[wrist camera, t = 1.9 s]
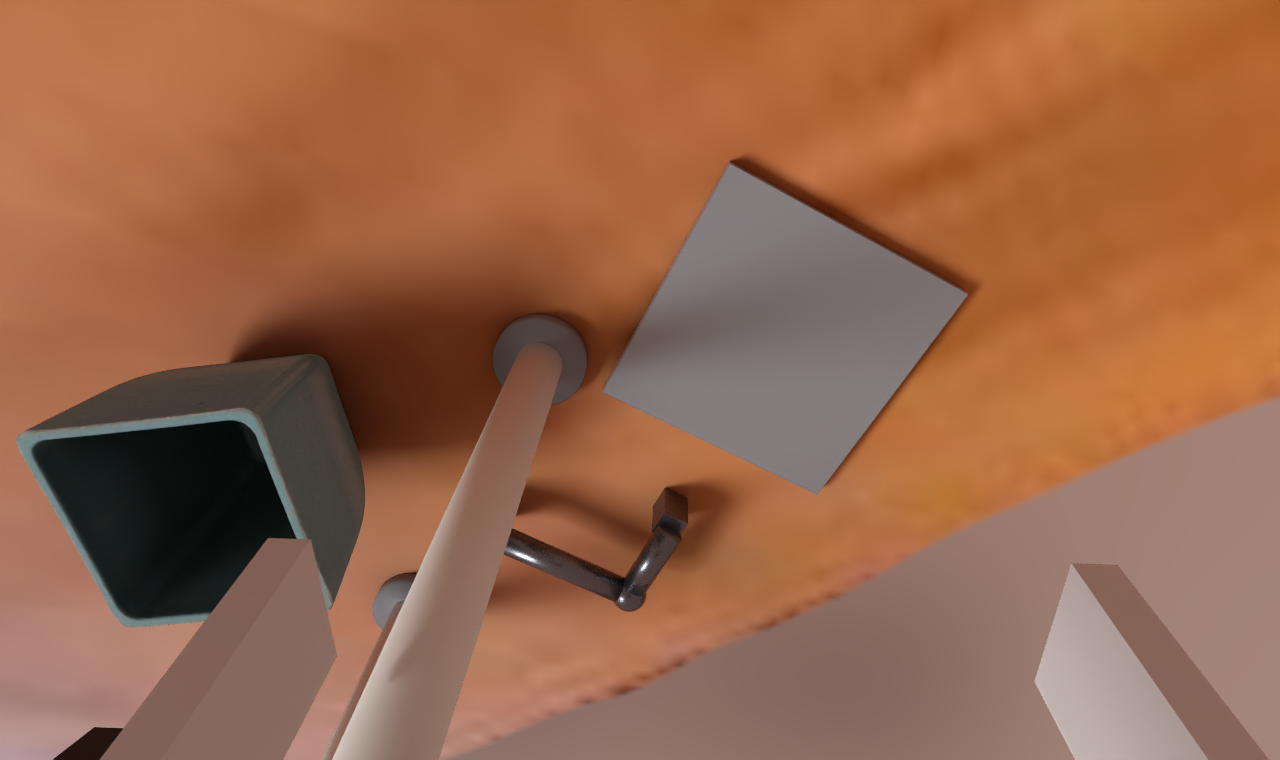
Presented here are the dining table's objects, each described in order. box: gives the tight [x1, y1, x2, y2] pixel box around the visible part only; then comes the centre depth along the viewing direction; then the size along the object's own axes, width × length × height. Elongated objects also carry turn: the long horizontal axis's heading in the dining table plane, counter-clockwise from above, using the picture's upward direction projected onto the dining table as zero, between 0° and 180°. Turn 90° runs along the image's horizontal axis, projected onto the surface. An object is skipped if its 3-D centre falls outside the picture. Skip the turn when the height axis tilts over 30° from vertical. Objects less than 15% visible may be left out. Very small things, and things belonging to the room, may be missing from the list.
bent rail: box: [504, 488, 688, 612], centre depth 36 cm, size 8×5×3 cm, turn 63°
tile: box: [603, 161, 968, 494], centre depth 33 cm, size 11×11×1 cm
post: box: [332, 314, 588, 760], centre depth 23 cm, size 4×4×24 cm
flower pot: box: [16, 354, 365, 627], centre depth 32 cm, size 9×9×9 cm
